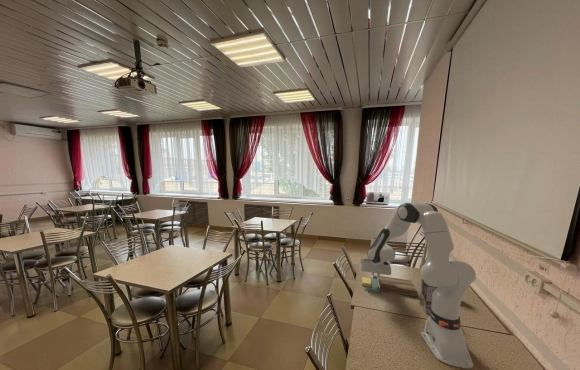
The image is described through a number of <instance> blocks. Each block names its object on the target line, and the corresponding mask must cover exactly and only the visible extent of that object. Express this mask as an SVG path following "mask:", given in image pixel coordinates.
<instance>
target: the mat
mask: <svg viewBox="0 0 580 370" xmlns="http://www.w3.org/2000/svg"><path fill="white" fill-rule="evenodd" d="M362 277H365V275H364V276H362ZM366 277H367V278H371V287H369V286H363V287H364V291H365V292H372V293H377V294H381V290H380V286H379V282H378V279H373V277H369V276H366Z"/></svg>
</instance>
